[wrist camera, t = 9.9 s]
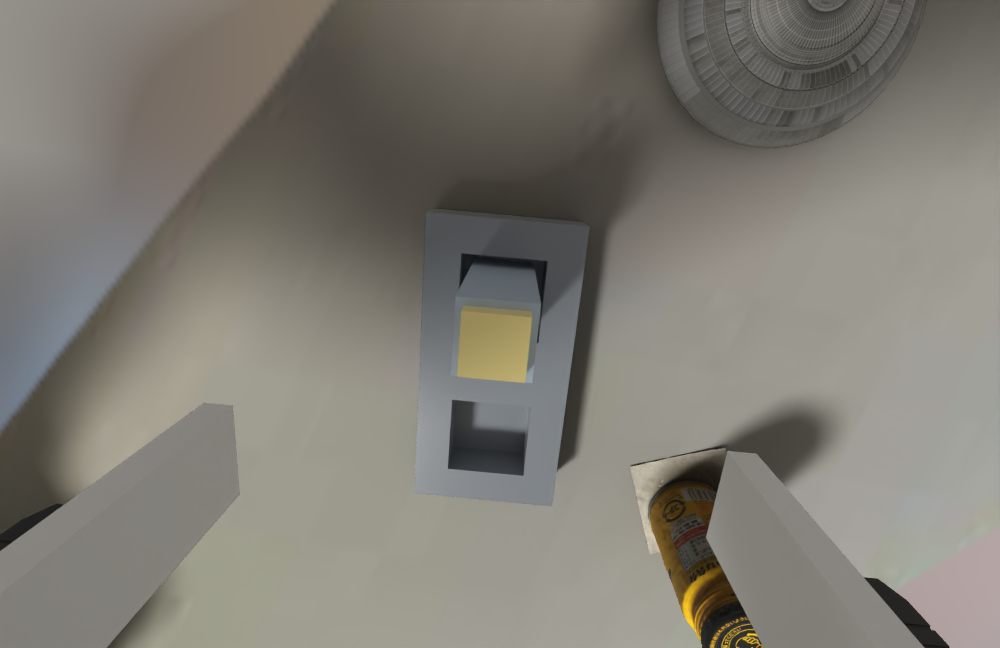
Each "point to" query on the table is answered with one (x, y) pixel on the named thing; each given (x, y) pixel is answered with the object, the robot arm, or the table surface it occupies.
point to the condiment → (692, 544)
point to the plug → (496, 322)
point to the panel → (490, 403)
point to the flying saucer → (782, 62)
